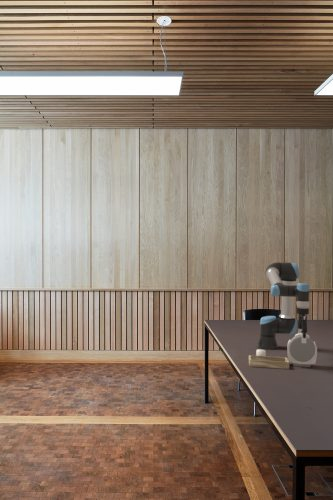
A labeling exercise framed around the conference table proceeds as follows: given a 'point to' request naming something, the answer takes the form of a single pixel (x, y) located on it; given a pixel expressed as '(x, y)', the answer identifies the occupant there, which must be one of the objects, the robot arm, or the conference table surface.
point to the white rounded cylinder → (260, 352)
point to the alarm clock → (301, 351)
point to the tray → (268, 362)
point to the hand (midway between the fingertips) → (302, 341)
